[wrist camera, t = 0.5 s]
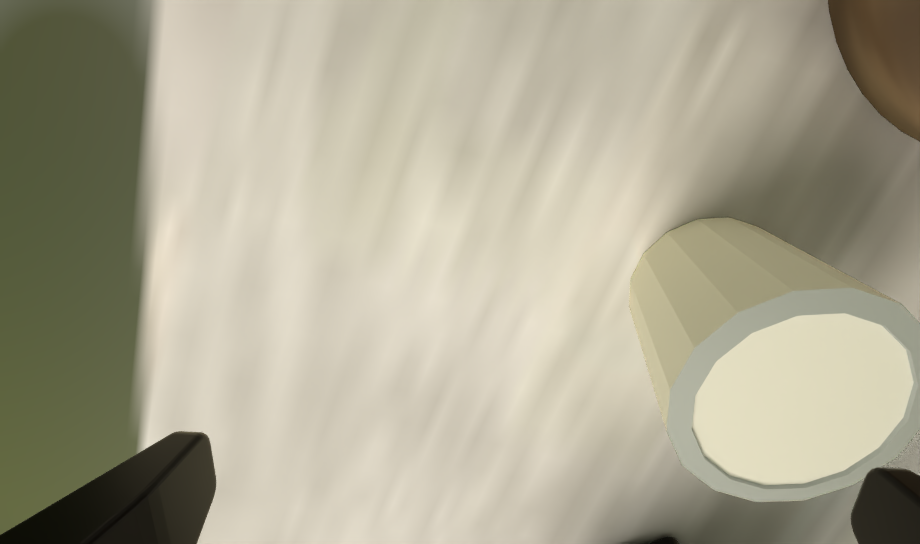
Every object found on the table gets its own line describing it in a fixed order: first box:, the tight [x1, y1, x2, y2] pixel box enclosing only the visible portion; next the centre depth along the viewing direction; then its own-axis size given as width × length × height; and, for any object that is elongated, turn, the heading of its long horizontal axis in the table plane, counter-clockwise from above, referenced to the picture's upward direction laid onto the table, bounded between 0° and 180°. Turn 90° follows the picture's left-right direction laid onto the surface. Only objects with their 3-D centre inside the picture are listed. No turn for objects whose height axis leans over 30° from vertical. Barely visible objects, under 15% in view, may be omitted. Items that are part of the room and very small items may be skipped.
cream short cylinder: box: [629, 217, 920, 502], centre depth 18 cm, size 7×7×7 cm
